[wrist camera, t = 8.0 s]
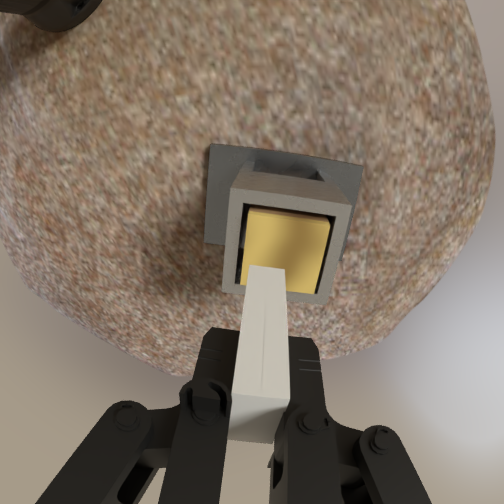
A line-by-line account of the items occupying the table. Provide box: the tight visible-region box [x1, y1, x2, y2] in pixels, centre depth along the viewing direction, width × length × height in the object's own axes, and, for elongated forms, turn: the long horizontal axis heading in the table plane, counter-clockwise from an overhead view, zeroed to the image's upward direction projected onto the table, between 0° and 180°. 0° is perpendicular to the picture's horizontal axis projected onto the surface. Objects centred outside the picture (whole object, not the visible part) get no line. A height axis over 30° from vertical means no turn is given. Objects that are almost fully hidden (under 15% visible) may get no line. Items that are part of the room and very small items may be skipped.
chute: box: [204, 143, 363, 305], centre depth 35 cm, size 20×14×15 cm
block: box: [240, 204, 330, 294], centre depth 33 cm, size 7×7×14 cm
